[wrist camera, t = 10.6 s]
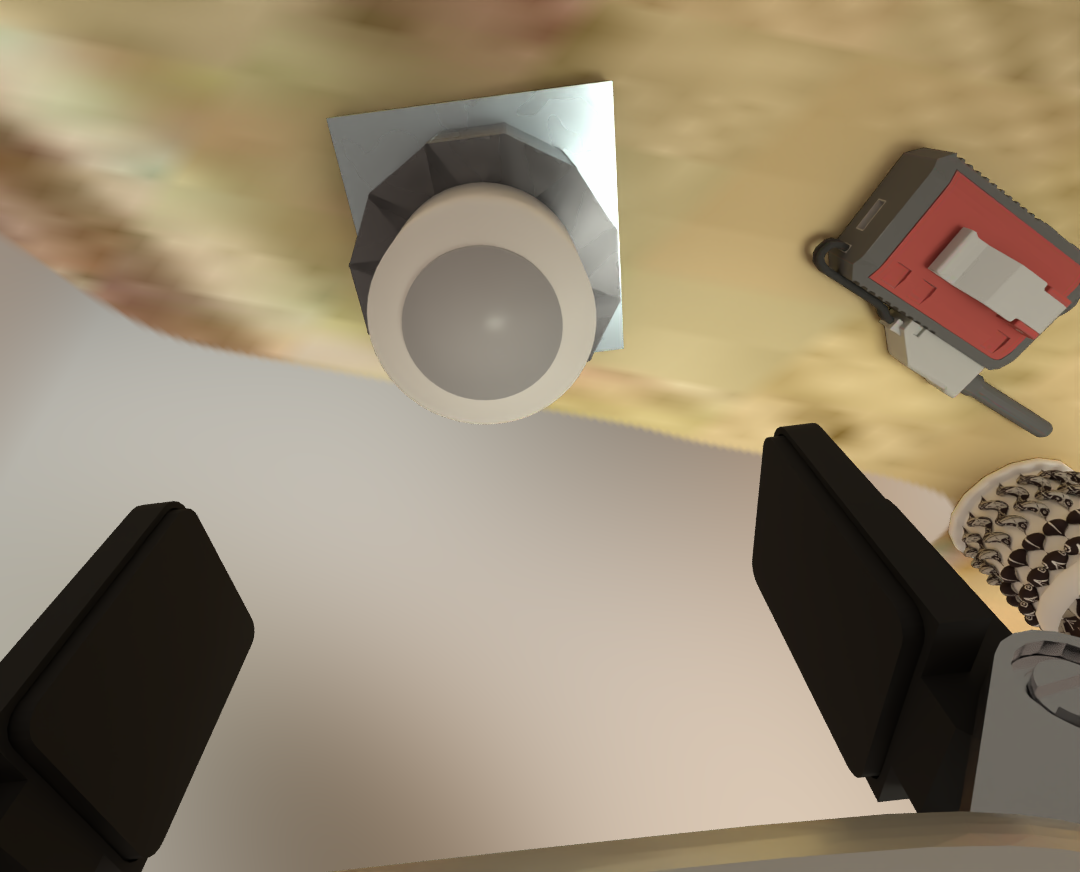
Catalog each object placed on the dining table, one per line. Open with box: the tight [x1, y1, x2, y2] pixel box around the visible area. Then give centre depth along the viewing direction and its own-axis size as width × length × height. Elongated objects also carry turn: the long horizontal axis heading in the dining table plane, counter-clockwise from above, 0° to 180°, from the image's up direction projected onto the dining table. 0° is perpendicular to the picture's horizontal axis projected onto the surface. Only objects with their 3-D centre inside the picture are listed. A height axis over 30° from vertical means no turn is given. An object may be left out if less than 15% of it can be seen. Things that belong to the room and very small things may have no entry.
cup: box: [367, 182, 596, 424], centre depth 22 cm, size 7×7×8 cm
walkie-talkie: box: [813, 148, 1080, 437], centre depth 31 cm, size 9×4×20 cm
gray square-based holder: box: [326, 81, 624, 362], centre depth 26 cm, size 12×12×8 cm
